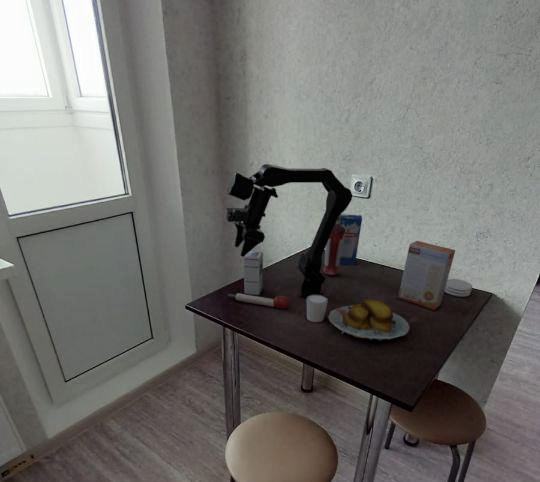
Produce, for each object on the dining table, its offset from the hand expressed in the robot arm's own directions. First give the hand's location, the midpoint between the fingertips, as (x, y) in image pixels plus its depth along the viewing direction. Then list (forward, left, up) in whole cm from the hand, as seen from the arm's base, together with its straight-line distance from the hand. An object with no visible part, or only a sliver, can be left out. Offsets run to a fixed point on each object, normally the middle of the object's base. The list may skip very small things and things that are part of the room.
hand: (239, 251), depth 133 cm
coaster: (-75, -39, -19) cm, 86 cm away
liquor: (-26, -38, -19) cm, 49 cm away
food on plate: (-45, +2, -19) cm, 49 cm away
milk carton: (-29, -55, -19) cm, 65 cm away
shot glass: (-28, +2, -19) cm, 33 cm away
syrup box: (-2, -10, -19) cm, 21 cm away
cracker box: (-61, -24, -19) cm, 68 cm away
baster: (-7, -1, -18) cm, 20 cm away
